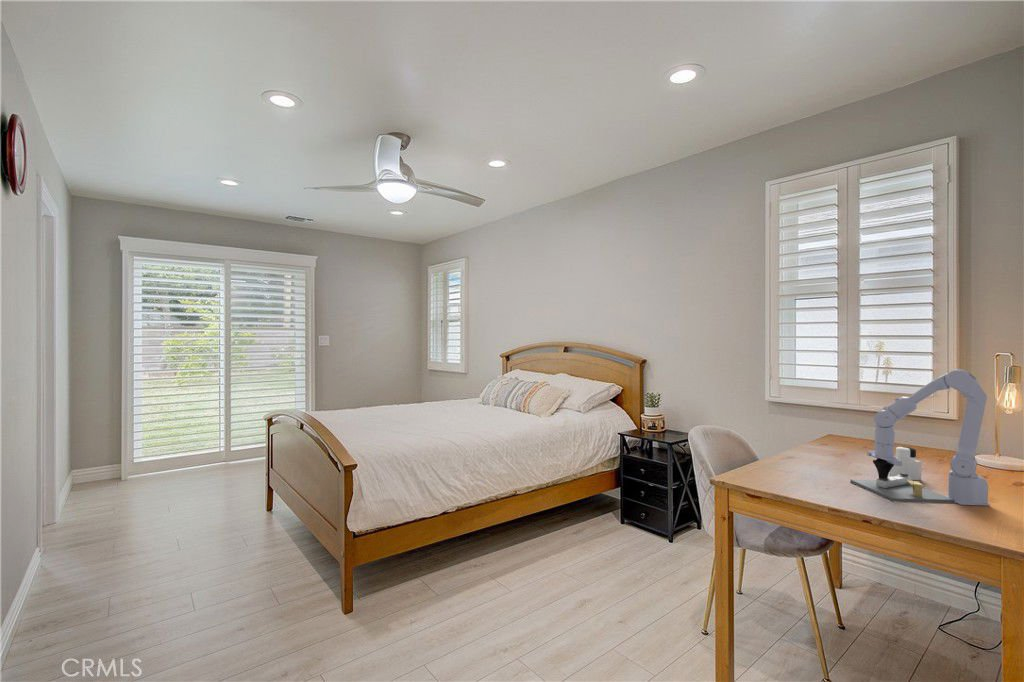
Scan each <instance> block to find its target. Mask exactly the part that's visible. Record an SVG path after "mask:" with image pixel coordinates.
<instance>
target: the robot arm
mask: <svg viewBox="0 0 1024 682" xmlns="http://www.w3.org/2000/svg"><path fill="white" fill-rule="evenodd" d="M951 388H952V389H954V390H956V391H957V392H959V393H960V394H961V395H962V396H963V397H964V398H965V399H966V400H967V401H966V406H965V411H964V414H963V415H964V416H963V420H962V425H961V430H960V434H959V440H958V445H957V449H956V453H955V454H954V455H953V456H952V457H951V461H950V464H949V467H950V469H951V470H949V471H948V490H947V491H948V493H947V495H945V496H946V497H948V498H951V499H954V503H956V504H958V505H960V506H961V505H962V506H990V505H991V504H990V503H989V484H988V482H987V480H986V479H985V478H984V477H983V476H981V475H979V474H978V473H976V471H977V465H978V462H977V459H976V451H977V446H978V441H979V437H980V433H981V427H982V422H983V417H984V413H985V409H986V403H987V401H988V395H987V393H986V391H985V390H984V389H983V387H982V386H981V384H980V382H979V381H978V379H977V377H976V376H974V375H973V374H972V373H971V372H969V371H967V370H965V369H962V368H956V369H953V370H950V371H949V372H948V373H945V374H943V375H941V376H939V377H937V378H934V379H933V380H931V381H930V382H928V383H927V384H925V385H924V386H923V387H921V388H920V389H918V390H917V391H916V392H914V393H913V394H912V395H910V396H899V397H896V398H894V401H893V402H892V403H890V404H889V405H887V406H886V405H885V406H883V407H882V409H883V410H879V411H878V412H876V414H874V419H873V420H874V423H875V425H874V426H875V429H874V450H867V452H866V456H868V457H872V458H875V459H873V460H872V463H873V464H874V466H875V468H876V471H877V473H878V479H880V478H885V477H889V475H890V470H891V469H892V467H893V466H894V465H895V466H902V461H901V460H899V459H897V457H896V456H895V439H896V438H895V435H896V434H895V423H896V422H897V420H898V421H900V420H902V419H903V418H905V417H906V416H908V415H910V414H911V413H912V412H914V411H916V410H917V404H919V403H920V402H921V401H924V400H925V399H927V398H928V397H929V396H932V395H933V394H935V393H936V392H938V391H944V390H949V389H951Z"/></svg>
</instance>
